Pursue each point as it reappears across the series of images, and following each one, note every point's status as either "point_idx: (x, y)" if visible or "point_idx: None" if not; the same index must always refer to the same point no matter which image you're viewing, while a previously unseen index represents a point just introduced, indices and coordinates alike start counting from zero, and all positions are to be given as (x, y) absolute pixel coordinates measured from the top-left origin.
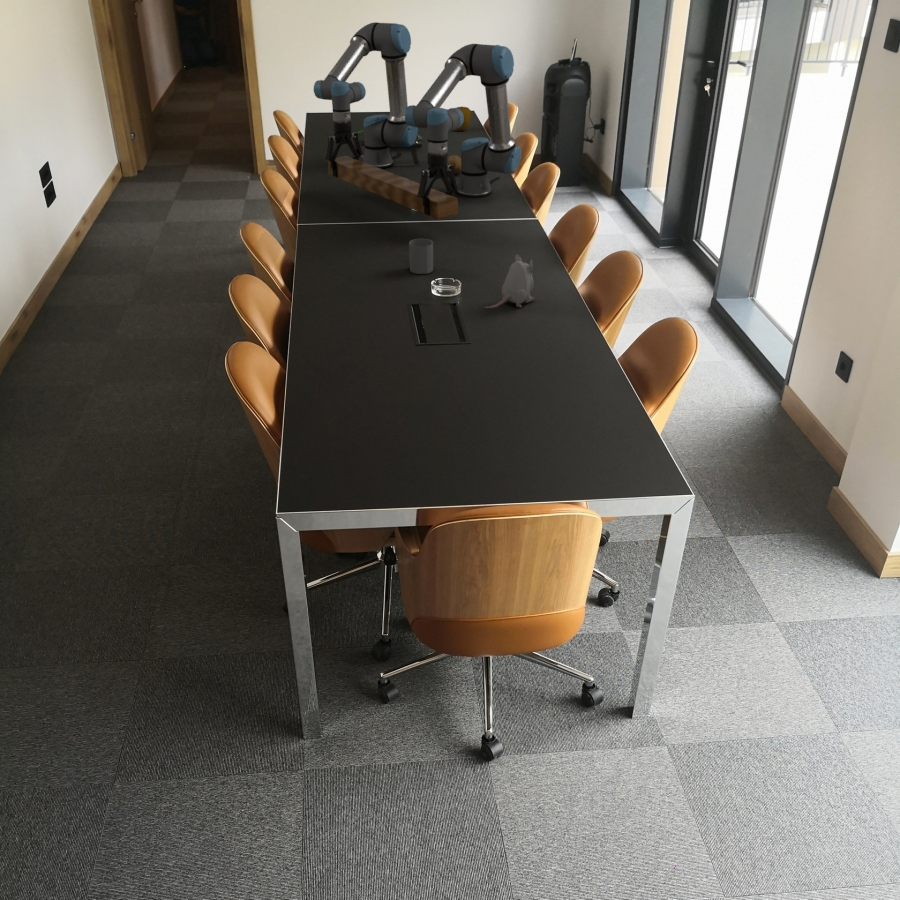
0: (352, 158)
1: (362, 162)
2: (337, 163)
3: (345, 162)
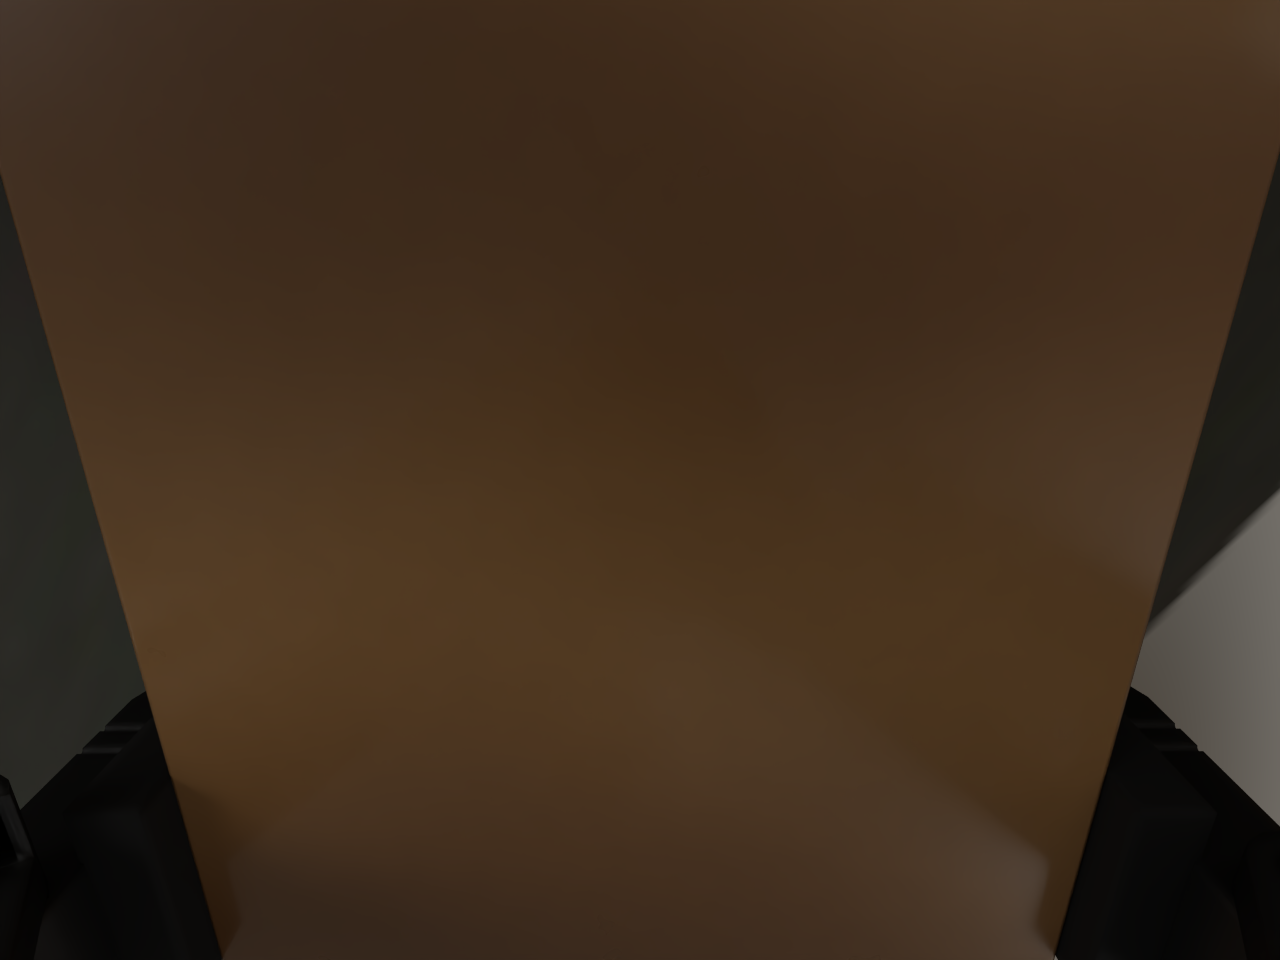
0: (247, 919)
1: (56, 100)
2: (1116, 714)
3: (799, 626)
